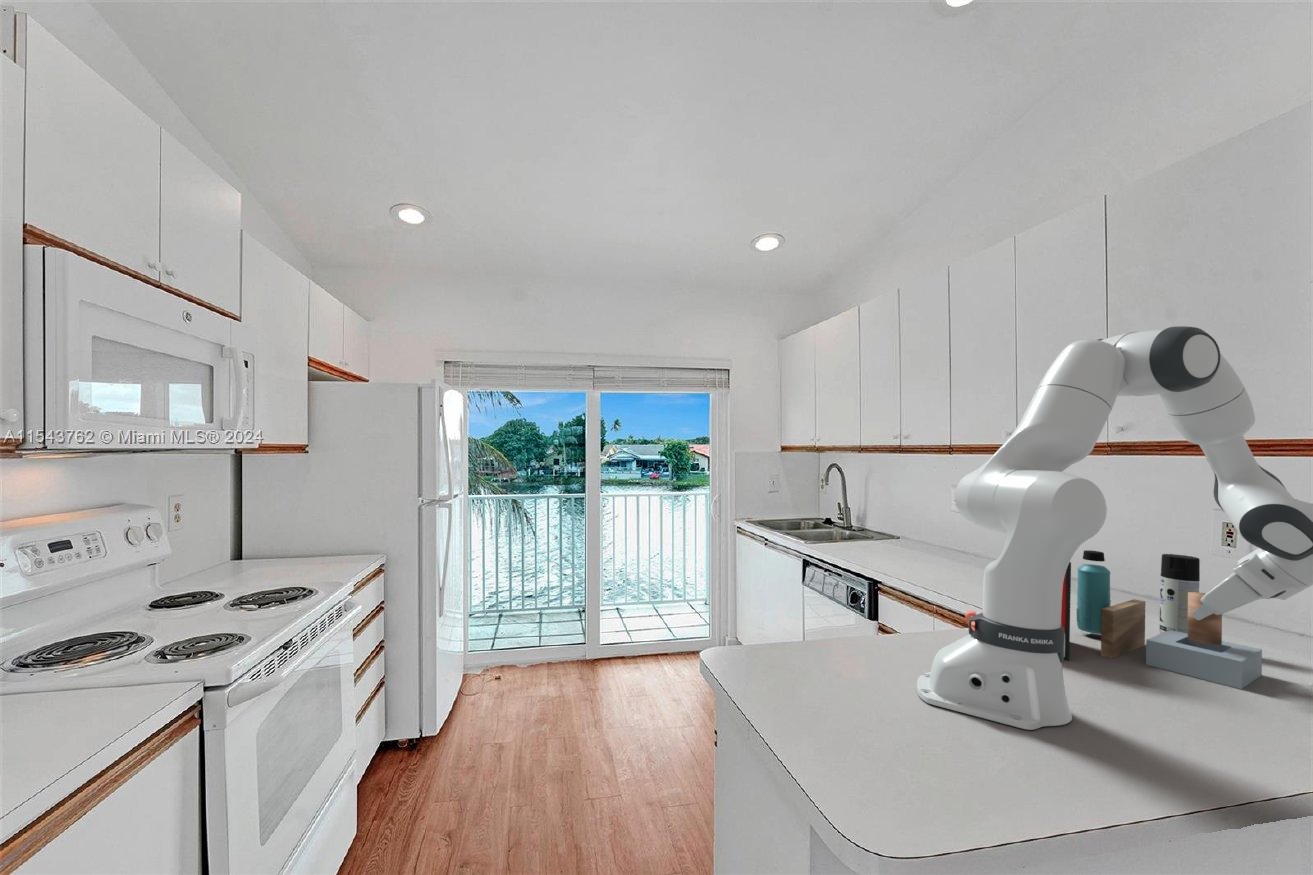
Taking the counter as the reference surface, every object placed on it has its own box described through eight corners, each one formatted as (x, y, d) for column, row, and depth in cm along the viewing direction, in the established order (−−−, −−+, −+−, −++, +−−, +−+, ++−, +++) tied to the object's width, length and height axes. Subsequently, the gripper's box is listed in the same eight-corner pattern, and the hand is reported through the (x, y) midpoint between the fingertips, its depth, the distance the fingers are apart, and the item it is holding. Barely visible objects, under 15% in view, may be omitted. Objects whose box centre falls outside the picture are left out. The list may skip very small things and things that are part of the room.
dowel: (1192, 642, 117) (1193, 596, 117) (1183, 635, 121) (1184, 591, 121) (1226, 646, 114) (1226, 599, 115) (1215, 639, 119) (1216, 594, 119)
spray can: (1161, 637, 140) (1162, 552, 140) (1200, 645, 135) (1201, 556, 135) (1157, 642, 135) (1158, 555, 136) (1196, 650, 130) (1198, 559, 131)
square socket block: (1261, 675, 116) (1262, 649, 116) (1241, 689, 108) (1241, 661, 108) (1170, 653, 127) (1170, 630, 127) (1146, 664, 120) (1146, 639, 120)
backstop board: (1144, 646, 133) (1145, 601, 133) (1112, 659, 123) (1113, 611, 123) (1133, 643, 134) (1134, 599, 134) (1100, 656, 124) (1101, 608, 124)
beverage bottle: (1116, 642, 135) (1118, 554, 135) (1084, 639, 136) (1085, 552, 136) (1101, 633, 141) (1102, 549, 142) (1070, 631, 142) (1071, 547, 143)
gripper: (1267, 556, 118) (1201, 595, 126) (1238, 565, 107) (1168, 607, 115) (1299, 583, 114) (1230, 621, 122) (1273, 595, 103) (1198, 636, 111)
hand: (1200, 614), depth 118 cm, fingers closed on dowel, 5 cm apart
